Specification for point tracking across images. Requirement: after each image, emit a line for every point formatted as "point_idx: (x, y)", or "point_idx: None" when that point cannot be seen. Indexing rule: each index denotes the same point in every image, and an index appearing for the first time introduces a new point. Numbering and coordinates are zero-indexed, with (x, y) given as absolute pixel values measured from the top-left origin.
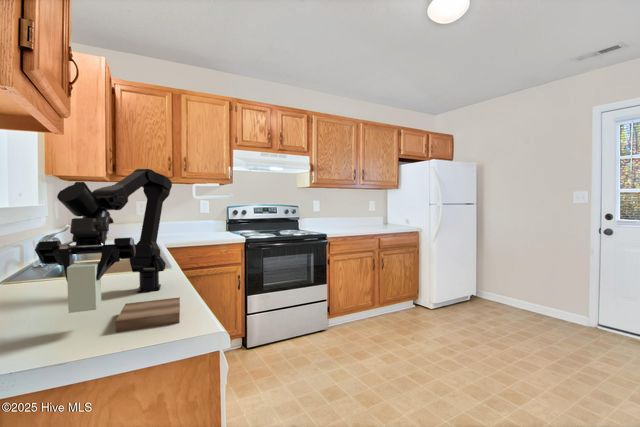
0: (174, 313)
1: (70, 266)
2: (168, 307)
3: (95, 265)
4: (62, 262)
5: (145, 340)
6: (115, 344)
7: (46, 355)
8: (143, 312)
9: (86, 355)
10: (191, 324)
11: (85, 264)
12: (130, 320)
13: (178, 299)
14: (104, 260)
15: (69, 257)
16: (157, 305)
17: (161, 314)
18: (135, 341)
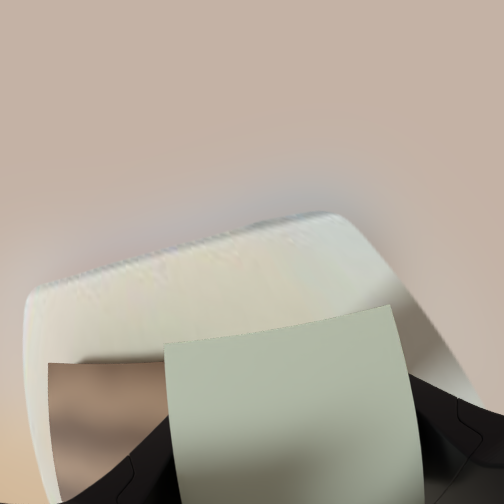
0: (56, 363)
1: (390, 359)
2: (69, 422)
3: (166, 372)
4: (496, 414)
5: (124, 293)
6: (179, 290)
7: (313, 267)
8: (121, 411)
9: (224, 249)
10: (50, 351)
11: (284, 443)
12: (147, 363)
13: (59, 483)
14: (116, 480)
15: (484, 465)
16: (98, 462)
17: (78, 368)
18: (141, 294)
